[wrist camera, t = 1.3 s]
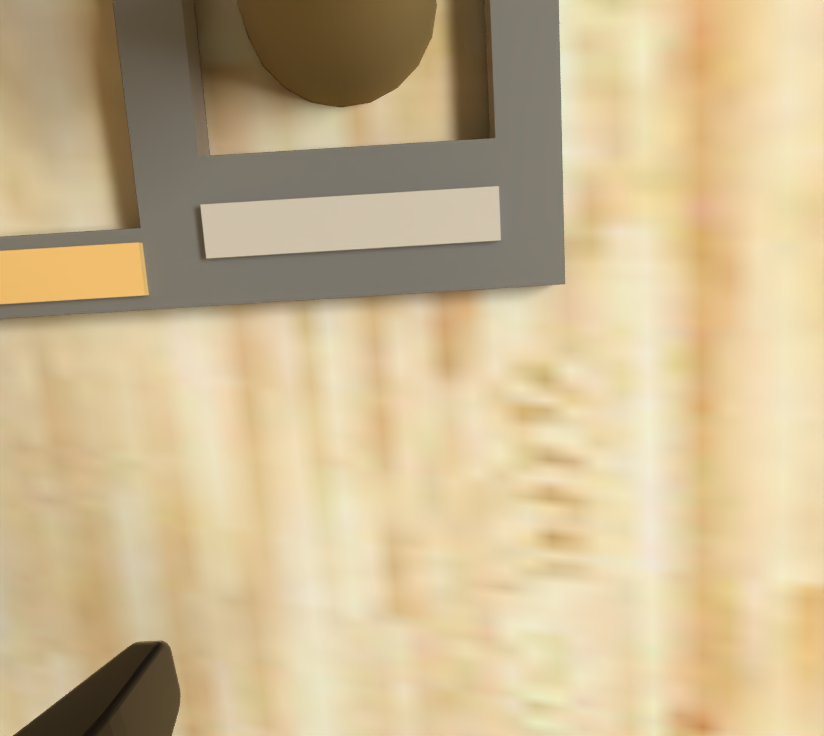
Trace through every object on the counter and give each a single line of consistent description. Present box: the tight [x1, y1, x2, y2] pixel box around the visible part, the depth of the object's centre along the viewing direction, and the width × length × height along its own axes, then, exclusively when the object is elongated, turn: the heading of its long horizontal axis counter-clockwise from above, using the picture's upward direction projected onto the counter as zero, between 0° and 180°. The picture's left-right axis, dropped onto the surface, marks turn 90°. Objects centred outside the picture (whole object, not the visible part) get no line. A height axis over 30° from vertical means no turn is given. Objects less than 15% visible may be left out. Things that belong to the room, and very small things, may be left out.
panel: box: [0, 0, 565, 319], centre depth 19 cm, size 16×24×2 cm, turn 93°
